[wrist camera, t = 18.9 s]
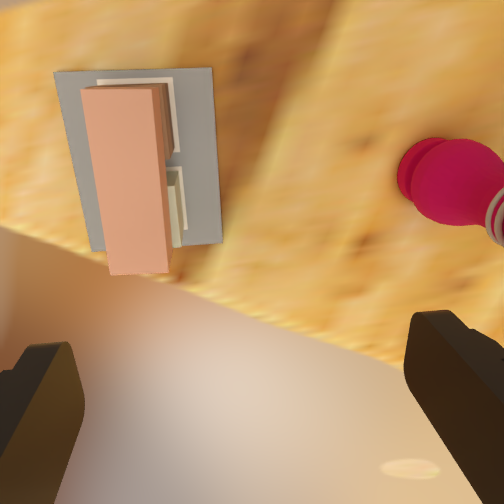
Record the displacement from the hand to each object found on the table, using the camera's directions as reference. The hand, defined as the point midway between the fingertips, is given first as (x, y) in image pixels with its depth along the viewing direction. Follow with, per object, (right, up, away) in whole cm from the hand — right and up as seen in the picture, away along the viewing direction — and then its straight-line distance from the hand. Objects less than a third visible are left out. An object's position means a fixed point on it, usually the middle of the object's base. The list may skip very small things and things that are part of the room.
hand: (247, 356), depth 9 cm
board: (-9, +10, +25) cm, 29 cm away
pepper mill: (+17, +10, +29) cm, 35 cm away
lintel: (-8, +8, +19) cm, 23 cm away
